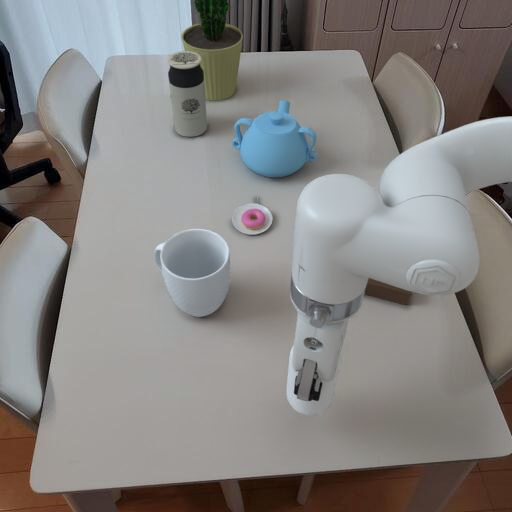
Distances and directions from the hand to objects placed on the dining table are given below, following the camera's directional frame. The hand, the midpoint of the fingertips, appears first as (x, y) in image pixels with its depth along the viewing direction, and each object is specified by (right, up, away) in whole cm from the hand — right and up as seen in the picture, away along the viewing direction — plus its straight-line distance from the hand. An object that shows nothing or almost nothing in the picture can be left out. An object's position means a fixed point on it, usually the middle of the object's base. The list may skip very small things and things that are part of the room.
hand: (313, 370), depth 63 cm
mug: (-18, +7, +24) cm, 31 cm away
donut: (-8, +23, +38) cm, 45 cm away
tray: (+13, +13, +30) cm, 35 cm away
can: (0, -5, +5) cm, 7 cm away
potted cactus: (-19, +60, +71) cm, 95 cm away
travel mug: (-24, +46, +59) cm, 78 cm away
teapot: (-3, +38, +52) cm, 64 cm away
